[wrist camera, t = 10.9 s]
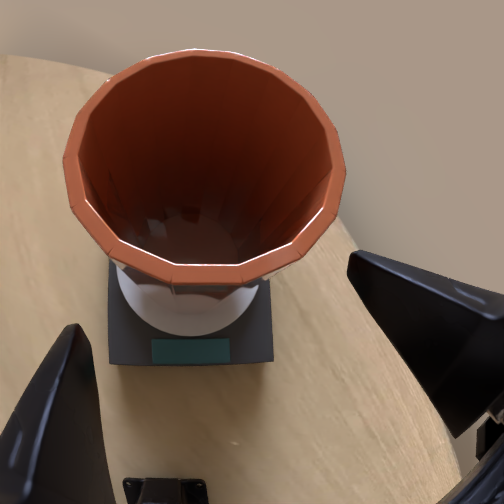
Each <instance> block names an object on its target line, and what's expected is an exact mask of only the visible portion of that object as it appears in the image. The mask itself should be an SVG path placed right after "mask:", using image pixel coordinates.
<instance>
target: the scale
mask: <svg viewBox="0 0 504 504" xmlns="http://www.w3.org/2000/svg"><path fill="white" fill-rule="evenodd" d="M108 346H109V364H114V365H135V366H212V365H233V364H249V363H261V362H273V361H274V354H273V335H272V316H271V298H270V281H269V279H267V280H266V281H264V282H262V283H260V284H259V285H257V286H255V287H254V288H252V289H250V290H249V291H247V292H245V293H243V294H242V295H240V296H238V297H237V298H235V299H233V300H231V301H230V302H228V303H226V304H224V305H223V306H221V307H218V308H216V309H214V310H212V311H209V312H207V313H204V314H201V315H180V314H177V313H174V312H171V311H169V310H167V309H165V308H163V307H160V306H159V305H157V304H156V303H155V302H154V301H153V300H152V299H151V298H150V297H149V296H148V295H147V294H145V293H144V292H143V291H142V290H141V289H140V288H139V287H138V286H137V285H136V284H135V283H134V282H133V281H132V280H131V279H130V278H129V277H128V276H127V275H126V274H125V273H124V272H123V271H122V270H121V269H120V268H119V267H118V266H117V265H116V264H115V263H114V262H113V261H112V260H111V259H109V278H108Z"/></svg>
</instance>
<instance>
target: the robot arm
mask: <svg viewBox="0 0 504 504" xmlns="http://www.w3.org/2000/svg"><path fill="white" fill-rule="evenodd" d="M347 277H348V279H349V281H350V282H351V284H352V285H353V287H354V289H355V290H356V292H357V294H358V295H359V297H360V299H361V300H362V302H363V304H364V305H365V307H366V308H367V310H368V312H369V313H370V314H371V316H372V317H373V319H374V320H375V321H376V323H377V324H378V325H379V327H380V328H381V329H382V331H383V332H384V334H385V335H386V336H387V338H388V339H389V341H390V342H391V343H392V345H393V346H394V348H395V349H396V350H397V352H398V353H399V355H400V356H401V358H402V359H403V360H404V362H405V363H406V365H407V366H408V368H409V369H410V371H411V372H412V373H413V375H414V376H415V378H416V379H417V381H418V382H419V384H420V385H421V387H422V388H423V390H424V391H425V393H426V394H427V396H428V397H429V399H430V401H431V402H432V404H433V405H434V407H435V409H436V410H437V412H438V413H439V415H440V416H441V418H442V420H443V421H444V423H445V424H446V426H447V428H448V429H449V431H450V433H451V434H452V436H453V437H454V438H455V439H456V438H457V437H459V436H460V435H461V434H462V433H463V432H465V431H466V430H467V429H468V428H469V427H470V426H471V425H473V424H474V423H475V422H476V421H477V420H478V419H479V418H480V417H481V416H482V415H483V414H484V413H485V412H487V413H488V414H489V415H490V416H489V417H488V418H487V419H486V420H485V421H484V423H483V424H482V425H481V426H480V427H479V428H478V429H477V443H476V458H477V459H478V460H479V462H478V463H477V464H476V466H475V467H474V468H473V469H472V470H471V471H470V472H469V473H468V474H467V475H466V476H465V477H464V478H463V479H462V480H461V481H460V482H459V483H458V484H457V485H456V486H455V487H454V488H453V489H452V490H451V491H450V492H449V493H448V494H447V495H445V496H444V497H443V498H442V499H441V500H440V501H439V502H438V503H436V504H504V295H503V294H500V293H496V292H492V291H489V290H485V289H482V288H479V287H475V286H472V285H468V284H465V283H462V282H459V281H456V280H453V279H450V278H449V279H448V278H447V277H444V276H441V275H438V274H435V273H432V272H429V271H426V270H423V269H420V268H417V267H414V266H411V265H408V264H404V263H401V262H398V261H395V260H392V259H389V258H386V257H382V256H379V255H376V254H373V253H370V252H366V251H363V250H358V251H355V252H352V253H351V254H350V256H349V262H348V268H347ZM14 410H15V411H13V413H12V415H11V417H10V418H9V420H8V422H7V424H6V426H5V428H4V430H3V432H2V434H1V435H0V504H116V501H115V497H114V493H113V489H112V484H111V480H110V475H109V470H108V464H107V459H106V453H105V446H104V439H103V432H102V424H101V415H100V404H99V394H98V387H97V381H96V375H95V369H94V362H93V355H92V348H91V344H90V342H89V340H88V338H87V337H86V335H85V333H84V331H83V329H82V328H81V326H80V325H79V324H77V323H75V324H71V325H67V326H66V327H65V328H64V329H63V331H62V332H61V334H60V335H59V337H58V338H57V340H56V341H55V343H54V344H53V346H52V347H51V349H50V350H49V352H48V353H47V355H46V357H45V358H44V360H43V361H42V363H41V364H40V366H39V368H38V369H37V371H36V373H35V374H34V376H33V377H32V379H31V381H30V383H29V384H28V386H27V388H26V389H25V391H24V393H23V395H22V396H21V398H20V400H19V402H18V404H17V405H16V407H15V409H14ZM126 482H129V483H131V484H132V485H129V484H127V483H126ZM197 484H202V486H197ZM123 488H124V492H125V495H126V499H127V503H128V504H209V502H208V495H207V488H206V483H205V481H204V480H201V479H186V480H179V479H177V478H145V479H140V478H125V479H124V480H123Z"/></svg>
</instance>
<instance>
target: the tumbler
mask: <svg viewBox="0 0 504 504" xmlns="http://www.w3.org/2000/svg"><path fill="white" fill-rule="evenodd" d="M63 169H64V175H65V182H66V187H67V193H68V198H69V204H70V208H71V210H72V212H73V214H74V215H75V216H76V218H77V219H78V220H79V222H80V223H81V224H82V225H83V227H84V228H85V229H86V231H87V232H88V233H89V234H90V236H91V237H92V238H93V239H94V240H95V242H96V243H97V244H98V245H99V247H100V248H101V249H102V250H103V251H104V253H105V254H106V255H107V256H108V257H109V258H110V259H111V260H112V261H113V262H114V263H115V264H116V265H117V266H118V267H119V268H120V269H121V270H122V271H123V272H124V273H125V274H126V275H127V276H128V277H129V278H130V279H131V280H132V281H133V282H134V283H135V284H136V285H137V286H138V287H139V288H140V289H141V290H142V291H143V292H144V293H145V294H147V295H148V296H149V297H150V298H151V299H152V300H153V301H154V302H155V303H156V304H157V305H159V306H160V307H163V308H165V309H167V310H169V311H171V312H174V313H177V314H180V315H201V314H204V313H207V312H209V311H212V310H214V309H216V308H218V307H221V306H223V305H224V304H226V303H228V302H230V301H231V300H233V299H235V298H237V297H238V296H240V295H242V294H243V293H245V292H247V291H249V290H250V289H252V288H254V287H255V286H257V285H259V284H260V283H262V282H264V281H266V280H267V279H269V278H271V277H272V276H274V275H276V274H277V273H279V272H281V271H282V270H284V269H286V268H287V267H289V266H291V265H292V264H294V263H296V262H297V261H299V260H300V259H301V258H303V257H304V256H305V255H306V254H307V252H308V251H309V250H310V249H311V248H312V247H313V245H314V244H315V243H316V242H317V241H318V239H319V238H320V237H321V236H322V235H323V234H324V232H325V231H326V230H327V229H328V228H329V226H330V225H331V224H332V223H333V221H334V220H335V219H336V217H337V213H338V209H339V205H340V200H341V196H342V191H343V187H344V182H345V177H346V167H345V162H344V158H343V154H342V149H341V145H340V140H339V136H338V132H337V130H336V128H335V126H334V125H333V123H332V122H331V120H330V119H329V117H328V116H327V114H326V113H325V112H324V110H323V109H322V107H321V106H320V104H319V103H318V101H317V100H316V99H315V97H314V96H313V95H312V94H311V93H310V92H309V91H307V90H306V89H304V87H302V86H301V85H300V84H298V83H297V82H296V81H294V80H293V79H291V78H290V77H289V76H288V75H286V74H285V73H284V72H282V71H281V70H279V69H277V68H276V67H273V66H271V65H268V64H266V63H263V62H261V61H258V60H255V59H252V58H250V57H247V56H244V55H241V54H238V53H234V52H225V51H214V50H200V49H192V50H191V49H188V50H183V51H177V52H172V53H167V54H162V55H157V56H153V57H149V58H146V59H144V60H142V61H140V62H138V63H136V64H134V65H132V66H130V67H129V68H127V69H125V70H123V71H121V72H120V73H118V74H116V75H114V76H113V77H111V78H109V79H108V80H107V81H105V83H104V84H103V85H102V86H101V87H100V88H99V89H98V90H97V91H96V92H95V93H94V95H93V96H92V97H91V98H90V99H89V100H88V101H87V103H86V104H85V105H84V106H83V107H82V108H81V110H80V111H79V112H78V114H77V115H76V118H75V121H74V123H73V126H72V129H71V132H70V135H69V138H68V142H67V145H66V148H65V151H64V155H63Z"/></svg>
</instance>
